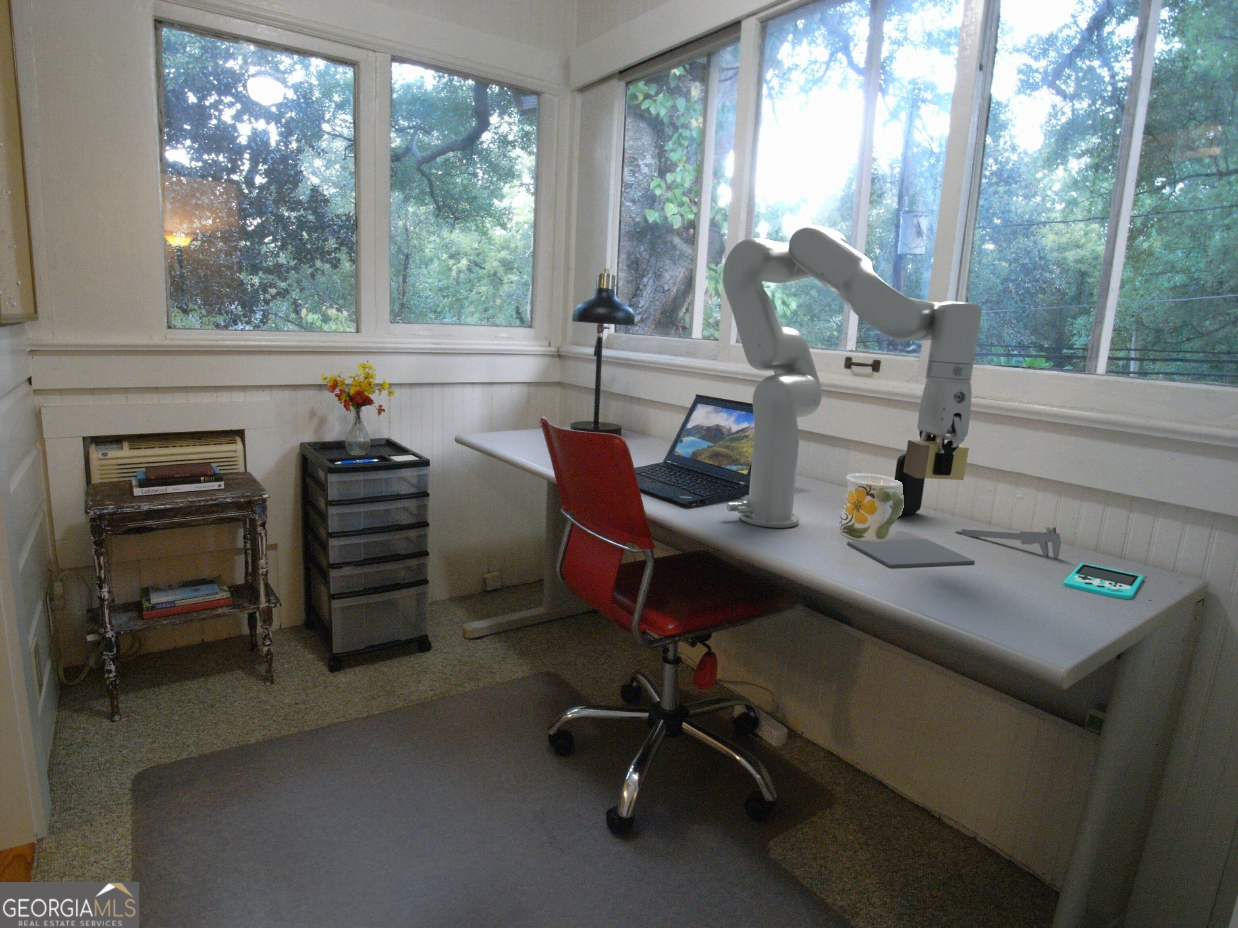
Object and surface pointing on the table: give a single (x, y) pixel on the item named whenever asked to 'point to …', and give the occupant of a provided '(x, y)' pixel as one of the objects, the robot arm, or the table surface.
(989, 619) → the table surface
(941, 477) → the card box
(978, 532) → the caliper
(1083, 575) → the handheld game console
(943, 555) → the desk mat
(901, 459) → the carrying case or bag
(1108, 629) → the table surface
